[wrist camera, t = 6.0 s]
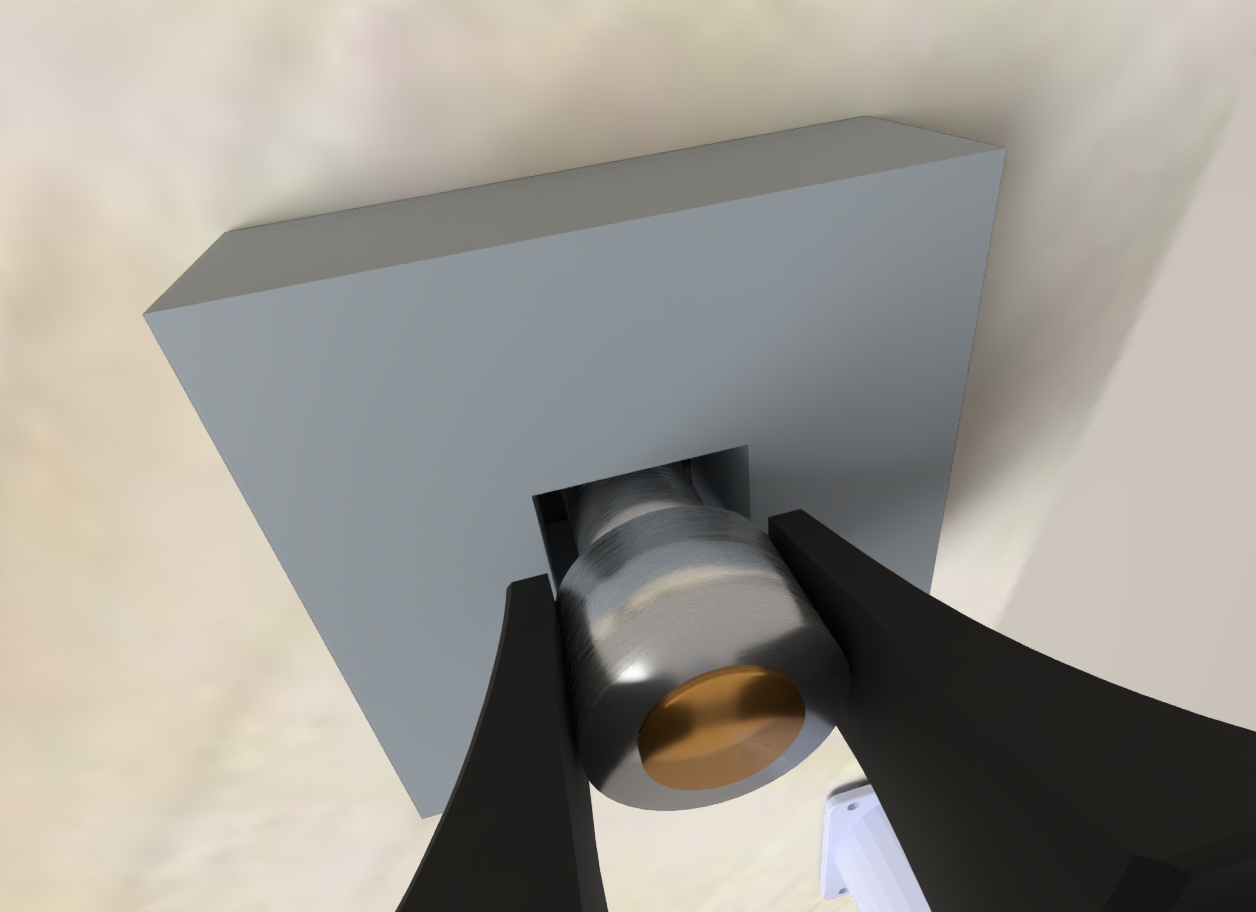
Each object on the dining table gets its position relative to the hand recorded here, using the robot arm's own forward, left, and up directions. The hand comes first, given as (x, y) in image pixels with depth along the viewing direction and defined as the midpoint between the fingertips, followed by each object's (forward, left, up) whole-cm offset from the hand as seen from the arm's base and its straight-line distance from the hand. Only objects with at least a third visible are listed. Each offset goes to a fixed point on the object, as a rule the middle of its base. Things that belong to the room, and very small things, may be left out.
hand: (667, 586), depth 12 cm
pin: (0, 0, -4) cm, 4 cm away
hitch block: (0, 0, -5) cm, 5 cm away
